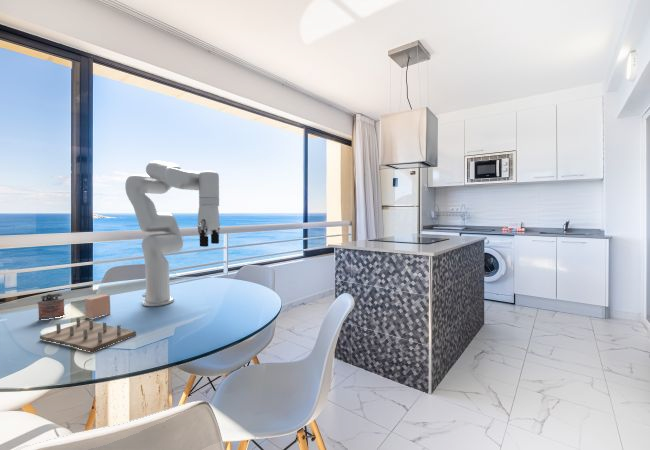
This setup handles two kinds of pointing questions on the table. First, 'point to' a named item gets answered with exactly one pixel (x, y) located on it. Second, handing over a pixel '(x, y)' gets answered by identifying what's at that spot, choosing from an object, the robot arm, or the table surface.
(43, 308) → the lighter
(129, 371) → the table surface
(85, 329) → the rack
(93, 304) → the salmon pink block
